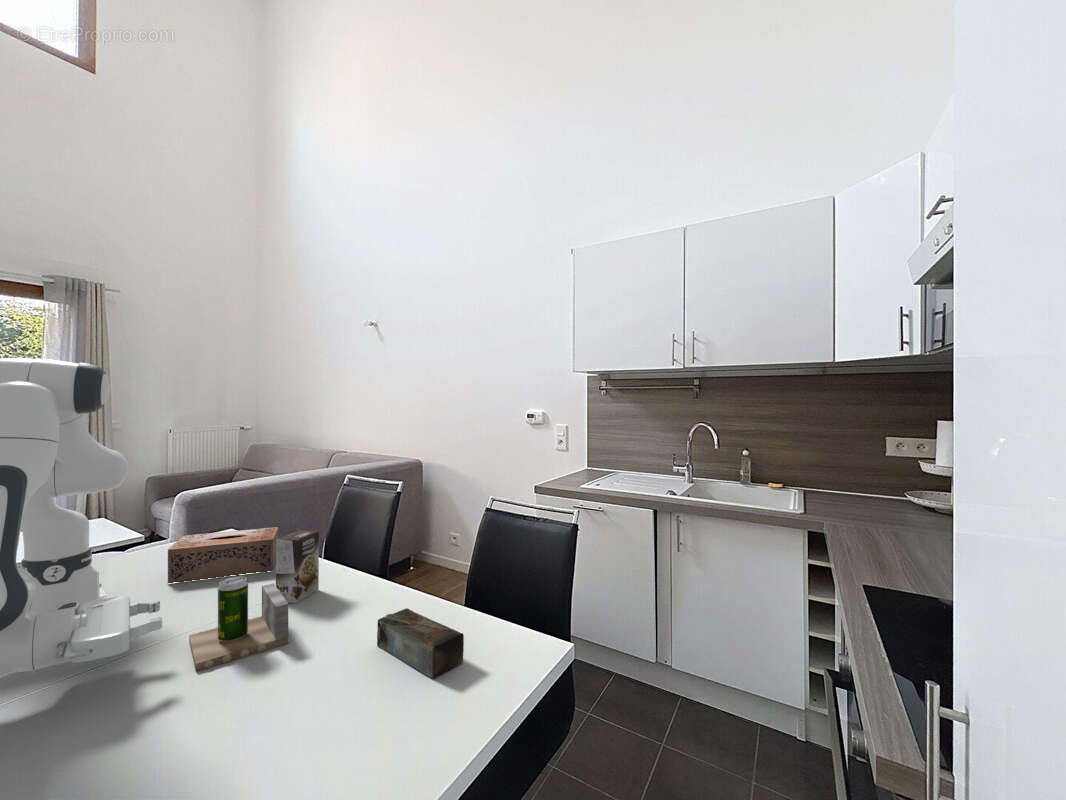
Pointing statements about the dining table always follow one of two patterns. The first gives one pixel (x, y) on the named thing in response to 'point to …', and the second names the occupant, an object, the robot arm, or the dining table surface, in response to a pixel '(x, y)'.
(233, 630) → the green soda can
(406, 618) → the beverage carton
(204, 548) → the tissue box cover
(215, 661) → the roller pallet
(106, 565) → the dining table surface
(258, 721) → the dining table surface
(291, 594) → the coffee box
